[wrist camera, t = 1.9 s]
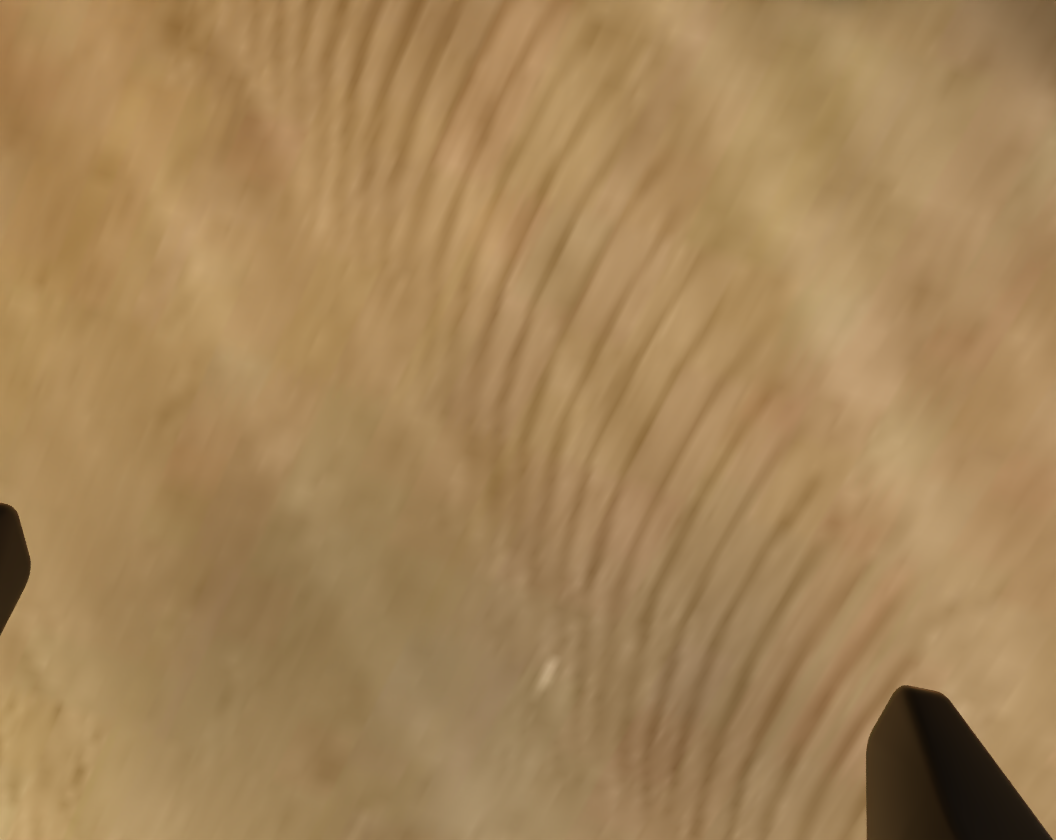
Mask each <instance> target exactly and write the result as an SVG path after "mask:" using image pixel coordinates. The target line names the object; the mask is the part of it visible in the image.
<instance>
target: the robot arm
mask: <svg viewBox="0 0 1056 840" xmlns="http://www.w3.org/2000/svg"><path fill="white" fill-rule="evenodd" d="M30 569H31V561H30V556H29V552H28V549H27V545H26V541H25V538H24V534H23V530H22V527H21V523H20V519H19V516H18V513H17V511H16V510H15V509H14V508H13V507H12V506H10V505H8V504H4V503H0V635H1V633H2V631H3V629H4V627H5V625H6V623H7V621H8V619H9V617H10V615H11V613H12V611H13V609H14V607H15V605H16V604H17V602H18V600H19V598H20V596H21V594H22V592H23V590H24V588H25V586H26V583H27V581H28V578H29V575H30ZM866 800H867V840H1053V839H1052V838H1051V837H1050V835H1049V834H1048V832H1047V831H1046V830H1045V828H1044V827H1043V826H1042V824H1041V823H1040V822H1039V820H1038V819H1037V818H1036V816H1035V815H1034V814H1033V812H1032V811H1031V809H1030V808H1029V807H1028V805H1027V804H1026V803H1025V801H1024V800H1023V799H1022V797H1021V796H1020V795H1019V793H1018V792H1017V791H1016V789H1015V788H1014V787H1013V785H1012V784H1011V782H1010V781H1009V780H1008V778H1007V777H1006V776H1005V774H1004V773H1003V772H1002V770H1001V769H1000V768H999V766H998V765H997V764H996V762H995V761H994V759H993V758H992V757H991V755H990V754H989V753H988V751H987V750H986V749H985V747H984V746H983V745H982V743H981V742H980V741H979V739H978V738H977V737H976V735H975V734H974V732H973V731H972V730H971V728H970V727H969V726H968V724H967V723H966V722H965V720H964V719H963V718H962V716H961V715H960V714H959V712H958V711H957V710H956V708H955V707H954V705H953V704H952V703H951V701H950V700H949V699H948V698H947V697H946V696H944V695H943V694H942V693H940V692H937V691H933V690H928V689H923V688H918V687H913V686H908V685H907V686H901V687H899V688H898V689H896V691H895V692H894V693H893V695H892V697H891V698H890V700H889V702H888V703H887V705H886V707H885V709H884V710H883V712H882V714H881V716H880V717H879V719H878V721H877V723H876V724H875V726H874V728H873V729H872V732H871V734H870V736H869V739H868V744H867V751H866Z"/></svg>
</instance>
